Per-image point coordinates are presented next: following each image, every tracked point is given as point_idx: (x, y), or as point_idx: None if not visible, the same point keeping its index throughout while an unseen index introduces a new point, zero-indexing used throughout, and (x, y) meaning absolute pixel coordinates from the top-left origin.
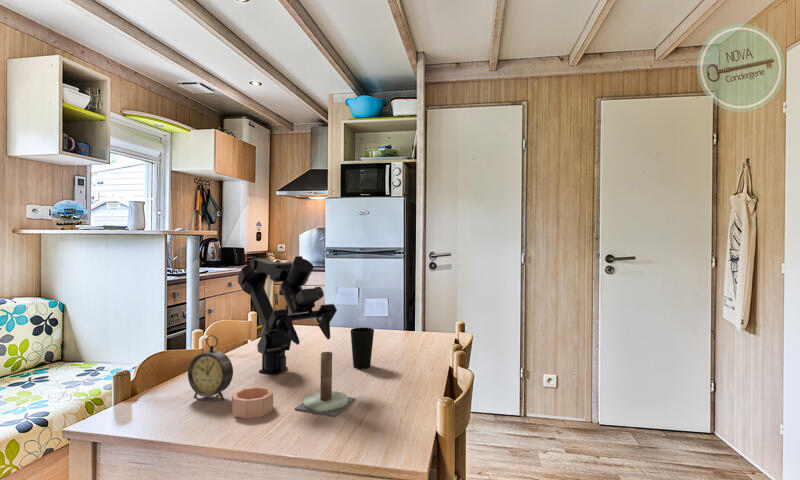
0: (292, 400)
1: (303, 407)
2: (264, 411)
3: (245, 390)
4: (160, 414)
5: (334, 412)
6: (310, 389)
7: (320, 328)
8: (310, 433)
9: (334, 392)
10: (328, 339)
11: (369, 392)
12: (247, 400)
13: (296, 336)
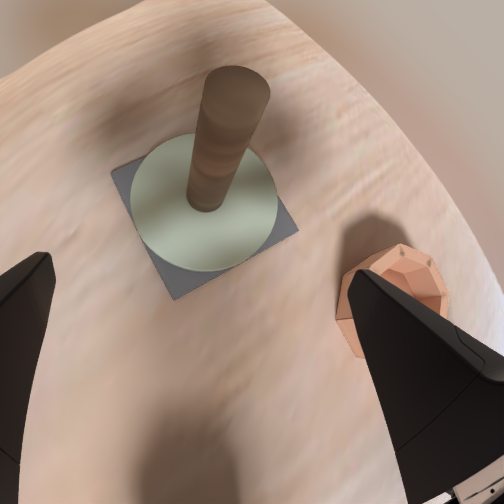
0: (270, 305)
1: (276, 217)
2: (375, 253)
3: None
4: None
5: None
6: (169, 360)
7: (18, 469)
8: (315, 109)
9: (146, 223)
10: (52, 276)
11: (40, 193)
12: (429, 260)
13: (399, 294)
